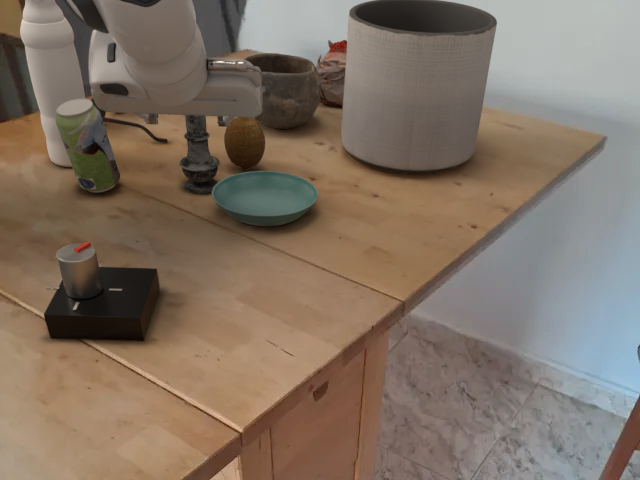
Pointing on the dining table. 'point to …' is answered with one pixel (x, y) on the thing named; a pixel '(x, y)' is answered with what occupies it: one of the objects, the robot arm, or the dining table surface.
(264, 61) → the bowl
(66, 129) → the beverage can
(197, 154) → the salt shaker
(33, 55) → the water bottle
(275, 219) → the saucer
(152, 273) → the dial base
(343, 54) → the food item
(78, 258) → the hob knob
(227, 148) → the fruit
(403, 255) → the dining table surface
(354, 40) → the planter
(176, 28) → the robot arm
